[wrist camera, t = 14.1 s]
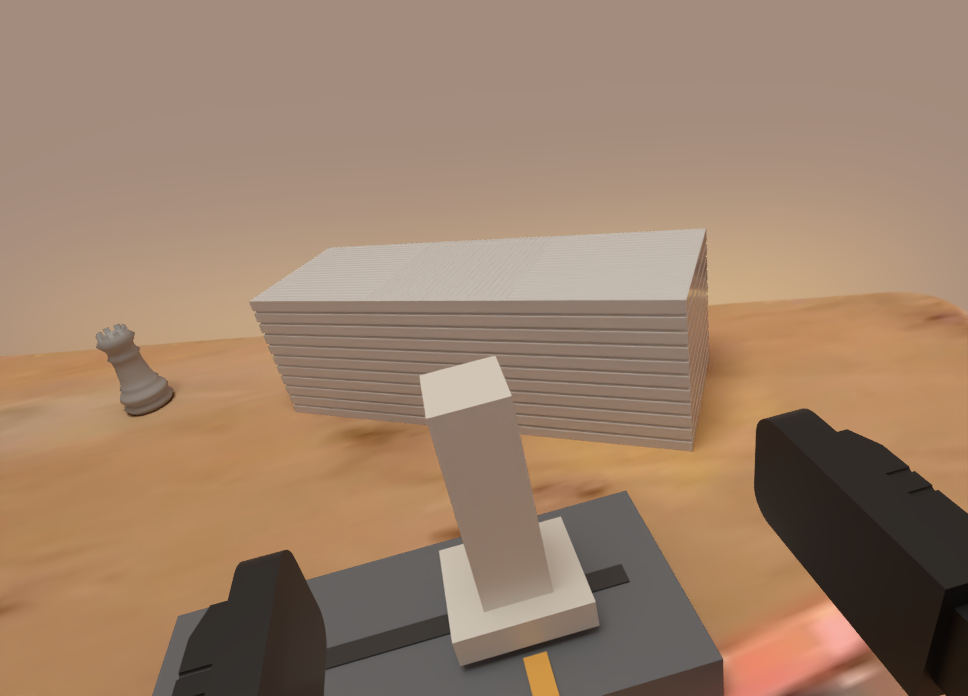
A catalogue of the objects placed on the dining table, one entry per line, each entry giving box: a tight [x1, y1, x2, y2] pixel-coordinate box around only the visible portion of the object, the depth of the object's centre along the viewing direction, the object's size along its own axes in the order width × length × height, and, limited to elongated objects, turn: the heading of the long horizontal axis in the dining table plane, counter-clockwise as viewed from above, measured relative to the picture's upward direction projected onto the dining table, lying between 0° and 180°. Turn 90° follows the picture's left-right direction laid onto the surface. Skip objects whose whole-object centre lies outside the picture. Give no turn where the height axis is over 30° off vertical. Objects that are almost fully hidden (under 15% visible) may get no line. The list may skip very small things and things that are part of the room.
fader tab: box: [419, 356, 600, 666], centre depth 25 cm, size 6×5×12 cm
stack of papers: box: [249, 229, 709, 452], centre depth 46 cm, size 32×11×11 cm, turn 67°
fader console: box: [152, 491, 724, 696], centre depth 28 cm, size 24×10×3 cm, turn 100°
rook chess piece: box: [96, 324, 173, 415], centre depth 56 cm, size 4×4×8 cm
